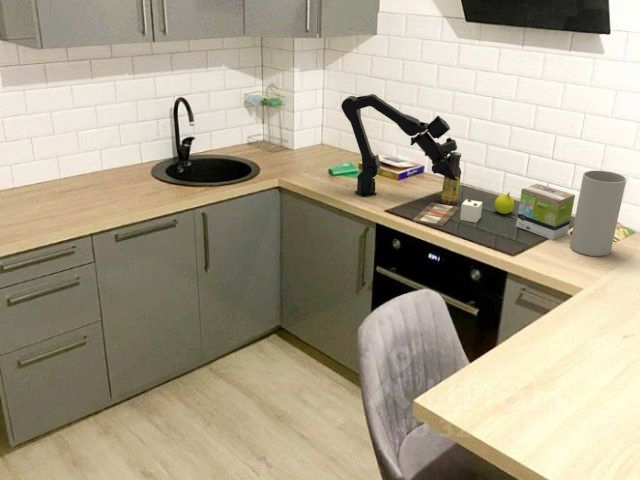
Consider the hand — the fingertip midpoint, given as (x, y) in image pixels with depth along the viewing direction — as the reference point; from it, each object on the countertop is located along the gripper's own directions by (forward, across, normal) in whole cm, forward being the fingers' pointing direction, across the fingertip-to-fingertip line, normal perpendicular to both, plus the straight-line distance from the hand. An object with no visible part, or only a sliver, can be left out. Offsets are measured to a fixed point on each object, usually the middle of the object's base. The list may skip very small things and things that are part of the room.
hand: (455, 177), depth 244 cm
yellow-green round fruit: (+21, -5, -6) cm, 23 cm away
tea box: (+30, -19, -15) cm, 39 cm away
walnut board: (+4, -15, +11) cm, 19 cm away
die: (+13, -15, +2) cm, 20 cm away
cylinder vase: (+41, -31, -25) cm, 57 cm away
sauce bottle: (+7, 0, +9) cm, 11 cm away
